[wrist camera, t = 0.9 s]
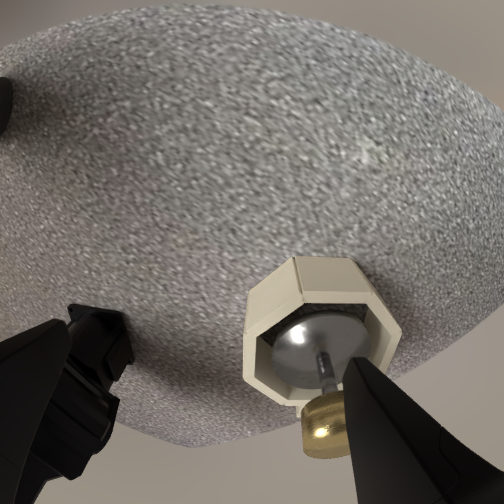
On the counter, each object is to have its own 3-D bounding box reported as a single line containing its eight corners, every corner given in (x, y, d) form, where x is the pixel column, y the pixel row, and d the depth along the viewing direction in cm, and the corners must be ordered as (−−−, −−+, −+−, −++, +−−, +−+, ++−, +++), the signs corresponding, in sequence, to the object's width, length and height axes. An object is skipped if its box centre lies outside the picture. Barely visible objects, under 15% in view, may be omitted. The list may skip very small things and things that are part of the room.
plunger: (268, 381, 20) (267, 470, 13) (275, 308, 17) (279, 411, 10) (354, 380, 20) (376, 460, 12) (379, 309, 17) (425, 396, 10)
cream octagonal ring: (245, 380, 25) (242, 420, 21) (249, 253, 20) (244, 288, 16) (352, 379, 25) (362, 417, 20) (388, 259, 20) (416, 291, 15)
